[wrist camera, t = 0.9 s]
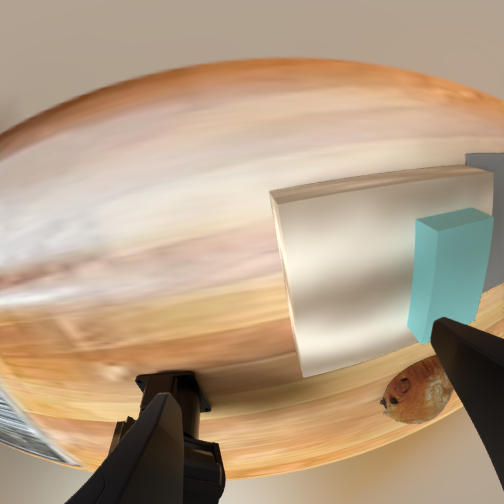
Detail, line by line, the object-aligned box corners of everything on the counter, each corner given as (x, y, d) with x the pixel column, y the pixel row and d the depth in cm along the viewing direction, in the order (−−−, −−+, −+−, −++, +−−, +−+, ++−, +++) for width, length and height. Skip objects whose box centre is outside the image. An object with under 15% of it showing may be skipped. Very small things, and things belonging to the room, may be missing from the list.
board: (452, 297, 24) (473, 317, 20) (294, 346, 24) (303, 377, 21) (462, 164, 19) (493, 172, 15) (268, 191, 19) (277, 204, 15)
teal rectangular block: (458, 305, 19) (474, 320, 17) (406, 326, 20) (421, 345, 17) (472, 207, 16) (493, 216, 14) (415, 218, 16) (437, 231, 14)
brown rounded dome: (407, 384, 35) (443, 410, 28) (364, 419, 30) (404, 453, 24) (431, 335, 31) (474, 362, 24) (389, 369, 26) (441, 408, 20)
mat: (517, 272, 24) (519, 273, 24) (453, 303, 24) (455, 305, 24) (529, 153, 18) (531, 154, 18) (465, 153, 18) (467, 154, 18)
